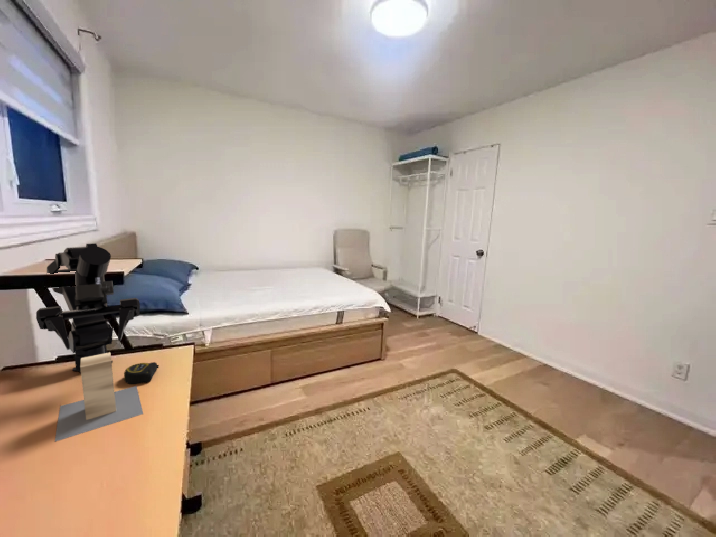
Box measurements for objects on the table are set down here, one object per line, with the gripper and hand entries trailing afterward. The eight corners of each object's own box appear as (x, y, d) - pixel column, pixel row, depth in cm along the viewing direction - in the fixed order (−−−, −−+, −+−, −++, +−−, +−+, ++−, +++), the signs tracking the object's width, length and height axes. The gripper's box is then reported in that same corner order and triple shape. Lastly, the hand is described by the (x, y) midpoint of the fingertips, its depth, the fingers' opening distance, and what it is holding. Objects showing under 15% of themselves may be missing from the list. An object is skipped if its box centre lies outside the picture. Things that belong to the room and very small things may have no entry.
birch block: (86, 408, 69) (80, 358, 67) (115, 400, 72) (110, 352, 70) (86, 420, 65) (80, 367, 63) (116, 411, 68) (111, 360, 66)
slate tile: (60, 408, 69) (60, 405, 69) (136, 388, 78) (136, 385, 78) (55, 444, 59) (54, 441, 59) (143, 416, 68) (143, 413, 68)
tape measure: (151, 385, 80) (150, 372, 80) (120, 388, 78) (118, 375, 77) (159, 372, 87) (158, 360, 86) (130, 375, 84) (129, 362, 84)
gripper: (31, 273, 67) (30, 338, 61) (136, 267, 79) (144, 321, 73) (40, 299, 74) (40, 359, 68) (135, 290, 86) (142, 341, 80)
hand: (95, 344), depth 72 cm, fingers open, 9 cm apart
